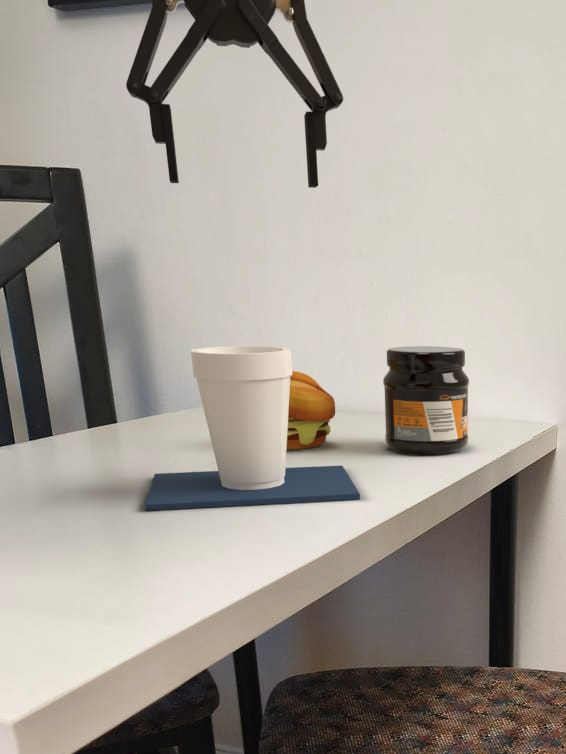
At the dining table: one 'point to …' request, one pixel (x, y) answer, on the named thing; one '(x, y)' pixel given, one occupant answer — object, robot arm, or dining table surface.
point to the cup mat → (210, 492)
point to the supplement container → (426, 400)
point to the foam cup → (246, 411)
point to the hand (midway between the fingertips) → (245, 184)
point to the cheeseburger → (308, 412)
